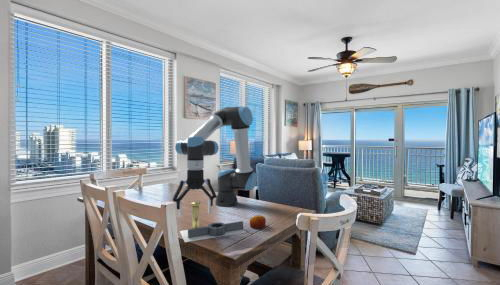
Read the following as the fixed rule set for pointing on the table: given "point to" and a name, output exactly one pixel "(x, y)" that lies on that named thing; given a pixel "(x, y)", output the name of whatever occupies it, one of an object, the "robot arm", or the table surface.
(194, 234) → the gray bar with ring
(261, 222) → the fruit
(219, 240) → the table surface
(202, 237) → the board
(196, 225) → the pin
